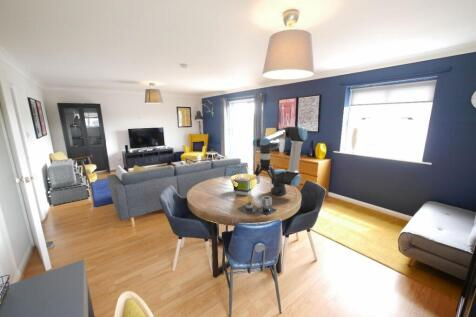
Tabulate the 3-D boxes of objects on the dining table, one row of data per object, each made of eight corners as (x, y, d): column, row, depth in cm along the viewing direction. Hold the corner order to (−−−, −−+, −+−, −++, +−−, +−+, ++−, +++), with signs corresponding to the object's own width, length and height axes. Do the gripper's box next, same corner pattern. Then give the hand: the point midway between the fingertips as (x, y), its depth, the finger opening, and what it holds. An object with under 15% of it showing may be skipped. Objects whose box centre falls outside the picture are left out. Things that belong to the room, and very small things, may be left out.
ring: (265, 200, 163) (265, 195, 162) (273, 203, 157) (273, 197, 156) (259, 203, 158) (259, 197, 157) (267, 206, 152) (267, 200, 151)
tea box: (251, 192, 197) (251, 178, 194) (247, 196, 188) (247, 181, 185) (237, 190, 203) (237, 176, 200) (233, 193, 194) (233, 179, 191)
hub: (249, 203, 171) (249, 193, 169) (261, 209, 161) (261, 197, 159) (237, 208, 162) (237, 197, 160) (249, 214, 152) (249, 203, 150)
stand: (265, 205, 167) (265, 194, 165) (277, 210, 158) (277, 199, 156) (255, 210, 159) (255, 198, 157) (267, 215, 150) (267, 203, 148)
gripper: (249, 157, 156) (249, 182, 160) (275, 162, 138) (274, 191, 142) (256, 155, 161) (256, 180, 165) (281, 160, 143) (281, 188, 147)
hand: (264, 185), depth 154 cm, fingers open, 13 cm apart
